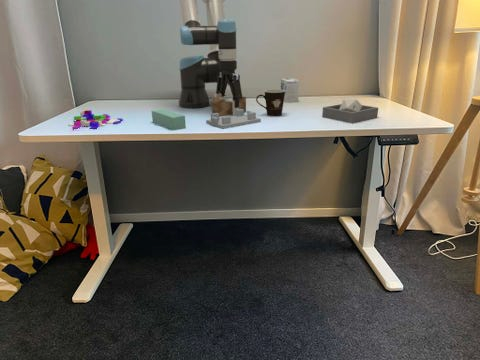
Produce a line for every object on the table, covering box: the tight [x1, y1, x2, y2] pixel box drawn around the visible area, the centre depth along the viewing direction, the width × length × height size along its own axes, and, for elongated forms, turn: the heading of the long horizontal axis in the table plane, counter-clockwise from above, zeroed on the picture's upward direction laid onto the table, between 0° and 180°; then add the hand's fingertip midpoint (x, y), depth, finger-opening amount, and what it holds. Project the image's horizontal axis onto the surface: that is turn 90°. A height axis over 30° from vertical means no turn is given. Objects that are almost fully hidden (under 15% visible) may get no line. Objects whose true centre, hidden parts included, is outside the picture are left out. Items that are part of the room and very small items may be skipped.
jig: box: [205, 109, 262, 130], centre depth 144 cm, size 18×12×4 cm, turn 125°
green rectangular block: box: [151, 108, 187, 131], centre depth 142 cm, size 18×5×5 cm, turn 38°
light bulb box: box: [280, 77, 300, 104], centre depth 186 cm, size 11×7×11 cm, turn 10°
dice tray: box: [322, 103, 379, 124], centre depth 149 cm, size 15×16×4 cm
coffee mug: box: [255, 89, 285, 117], centre depth 155 cm, size 12×9×10 cm
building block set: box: [68, 109, 124, 131], centre depth 149 cm, size 25×21×4 cm
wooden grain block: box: [210, 93, 247, 118], centre depth 159 cm, size 15×4×9 cm, turn 125°
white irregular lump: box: [339, 97, 363, 112], centre depth 148 cm, size 8×9×10 cm
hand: (229, 113), depth 160 cm, fingers open, 9 cm apart
